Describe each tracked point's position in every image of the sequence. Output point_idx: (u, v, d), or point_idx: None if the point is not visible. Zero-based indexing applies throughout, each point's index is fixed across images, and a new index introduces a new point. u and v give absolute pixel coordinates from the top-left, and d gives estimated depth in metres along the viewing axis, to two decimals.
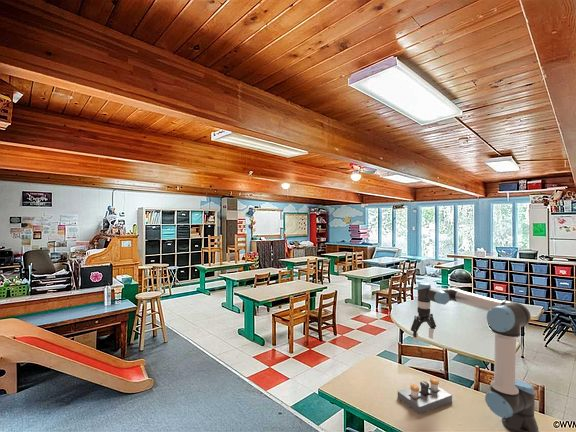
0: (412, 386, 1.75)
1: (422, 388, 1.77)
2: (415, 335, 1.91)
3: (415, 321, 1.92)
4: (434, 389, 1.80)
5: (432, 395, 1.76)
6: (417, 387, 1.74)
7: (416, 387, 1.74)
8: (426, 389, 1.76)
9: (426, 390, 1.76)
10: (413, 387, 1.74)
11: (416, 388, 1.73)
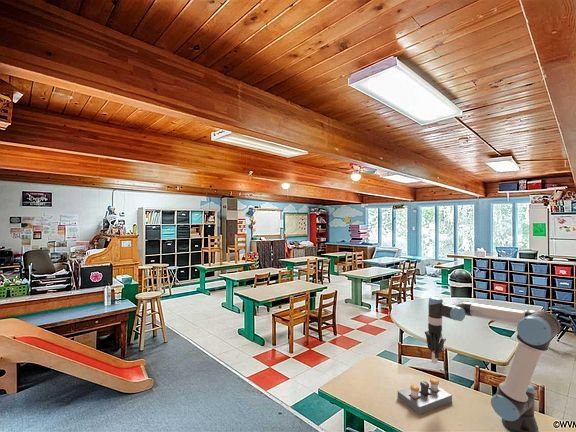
0: (412, 386, 1.75)
1: (422, 388, 1.77)
2: (431, 354, 1.82)
3: None
4: (434, 389, 1.80)
5: (432, 395, 1.76)
6: (417, 387, 1.74)
7: (416, 387, 1.74)
8: (426, 389, 1.76)
9: (426, 390, 1.76)
10: (413, 387, 1.74)
11: (416, 388, 1.73)
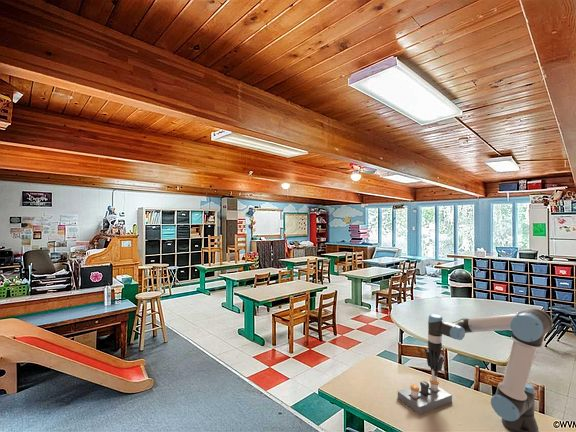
0: (412, 386, 1.75)
1: (422, 388, 1.77)
2: (431, 371, 1.82)
3: None
4: (434, 389, 1.80)
5: (432, 395, 1.76)
6: (417, 387, 1.74)
7: (416, 387, 1.74)
8: (426, 389, 1.76)
9: (426, 390, 1.76)
10: (413, 387, 1.74)
11: (416, 388, 1.73)
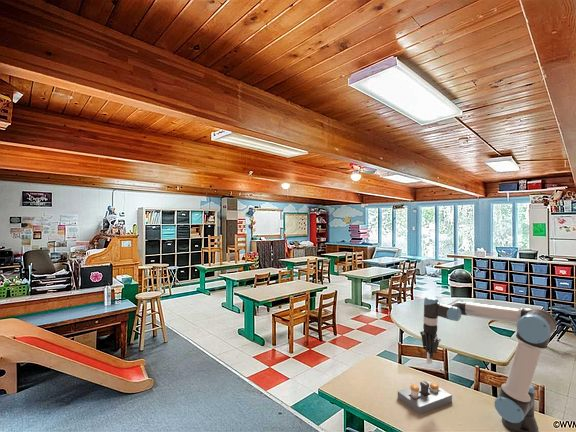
0: (412, 386, 1.75)
1: (422, 388, 1.77)
2: (426, 354, 1.81)
3: None
4: None
5: (432, 395, 1.76)
6: (417, 387, 1.74)
7: (416, 387, 1.74)
8: (426, 389, 1.76)
9: (426, 390, 1.76)
10: (413, 387, 1.74)
11: (416, 388, 1.73)
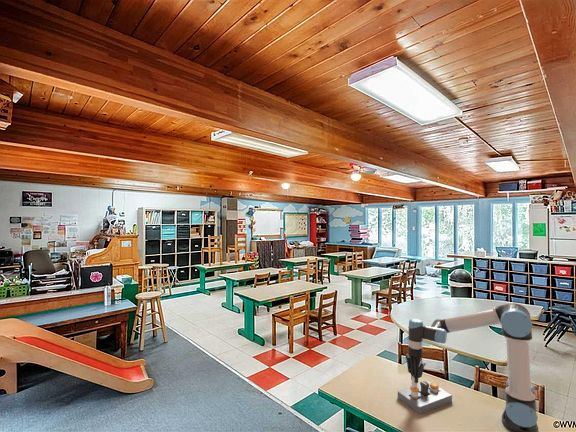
0: None
1: (422, 388, 1.77)
2: (411, 378, 1.76)
3: None
4: None
5: (432, 395, 1.76)
6: (417, 388, 1.74)
7: (416, 388, 1.74)
8: (426, 389, 1.76)
9: (426, 390, 1.76)
10: (413, 388, 1.74)
11: (416, 389, 1.73)
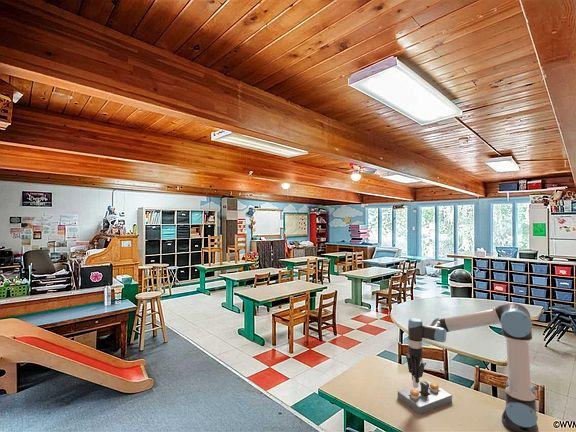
0: (412, 391, 1.75)
1: (422, 388, 1.77)
2: (412, 378, 1.75)
3: None
4: None
5: (432, 395, 1.76)
6: (417, 392, 1.74)
7: (416, 392, 1.74)
8: (426, 389, 1.76)
9: (426, 390, 1.76)
10: (413, 392, 1.74)
11: (416, 393, 1.73)
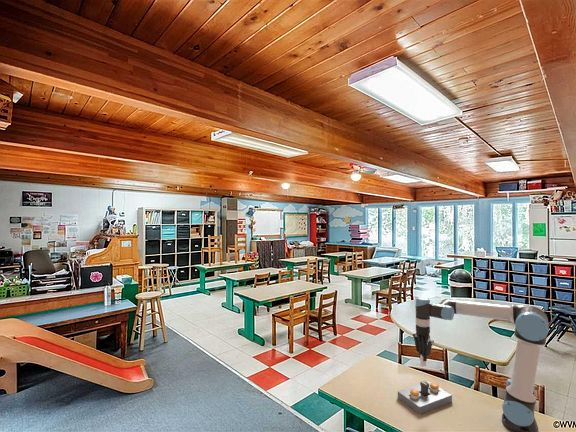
0: (412, 391, 1.75)
1: (422, 388, 1.77)
2: (420, 357, 1.76)
3: None
4: None
5: (432, 395, 1.76)
6: (417, 392, 1.74)
7: (416, 392, 1.74)
8: (426, 389, 1.76)
9: (426, 390, 1.76)
10: (413, 392, 1.74)
11: (416, 393, 1.73)
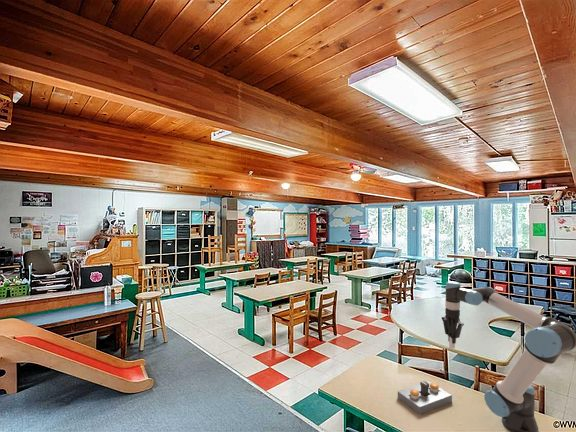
0: (412, 391, 1.75)
1: (422, 388, 1.77)
2: (449, 339, 1.79)
3: None
4: None
5: (432, 395, 1.76)
6: (417, 392, 1.74)
7: (416, 392, 1.74)
8: (426, 389, 1.76)
9: (426, 390, 1.76)
10: (413, 392, 1.74)
11: (416, 393, 1.73)
